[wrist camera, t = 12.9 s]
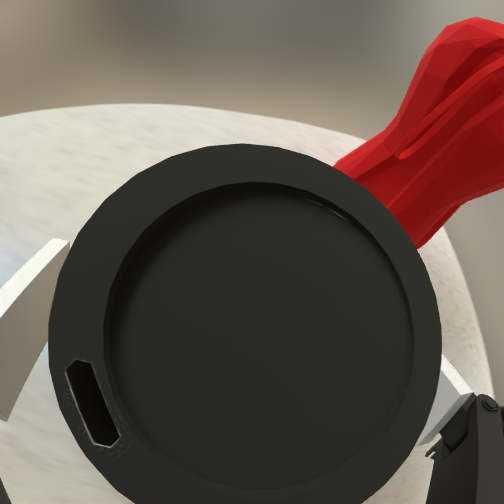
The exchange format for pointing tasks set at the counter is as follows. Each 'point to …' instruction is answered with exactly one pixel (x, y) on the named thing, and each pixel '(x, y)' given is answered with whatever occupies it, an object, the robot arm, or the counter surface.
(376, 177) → the red curved bottle
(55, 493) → the counter surface
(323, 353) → the coffee cup
